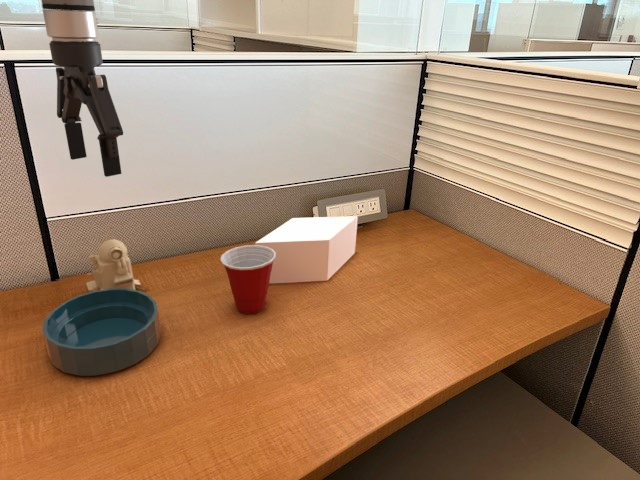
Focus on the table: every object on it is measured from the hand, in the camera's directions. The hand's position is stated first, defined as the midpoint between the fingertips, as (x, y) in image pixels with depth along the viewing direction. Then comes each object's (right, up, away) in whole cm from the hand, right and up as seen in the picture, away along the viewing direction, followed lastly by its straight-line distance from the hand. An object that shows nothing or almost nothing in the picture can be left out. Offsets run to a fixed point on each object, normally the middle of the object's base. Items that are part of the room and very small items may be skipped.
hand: (95, 166), depth 87 cm
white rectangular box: (+38, -20, +27) cm, 51 cm away
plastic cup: (+26, -27, +11) cm, 40 cm away
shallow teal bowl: (+3, -32, -1) cm, 32 cm away
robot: (-2, -25, +14) cm, 28 cm away
